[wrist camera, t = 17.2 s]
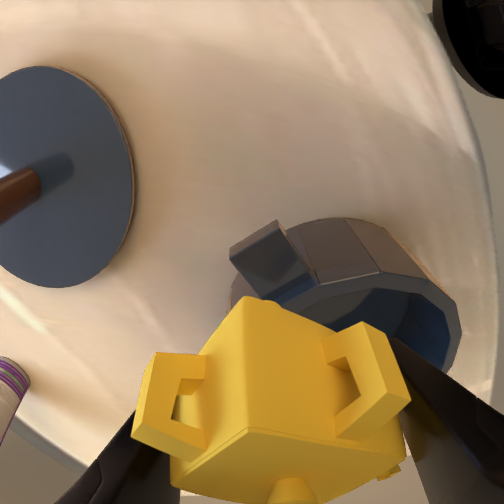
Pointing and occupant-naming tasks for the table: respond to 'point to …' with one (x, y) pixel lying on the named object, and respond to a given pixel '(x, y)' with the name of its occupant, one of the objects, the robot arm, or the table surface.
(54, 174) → the lid
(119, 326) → the table surface
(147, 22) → the table surface
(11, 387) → the container
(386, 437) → the teapot
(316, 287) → the pot
